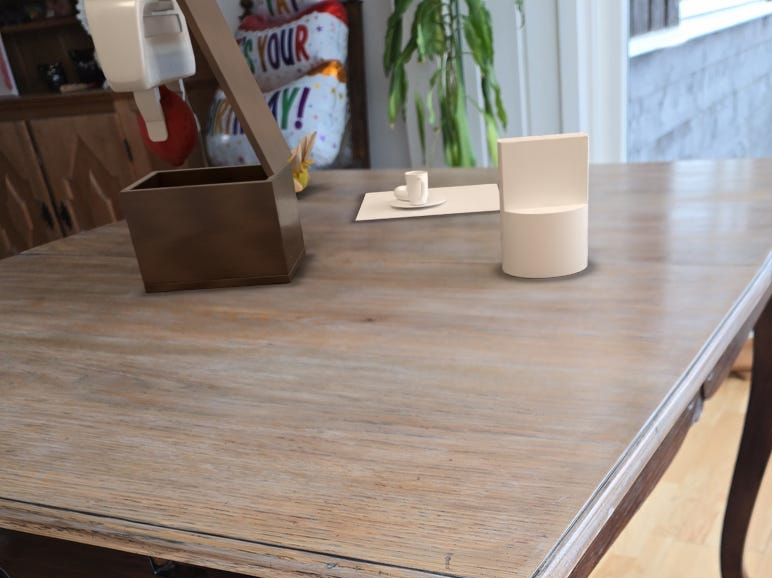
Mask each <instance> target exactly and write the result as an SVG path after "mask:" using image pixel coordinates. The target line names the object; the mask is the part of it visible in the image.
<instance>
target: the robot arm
mask: <svg viewBox="0 0 772 578" xmlns="http://www.w3.org/2000/svg"><path fill="white" fill-rule="evenodd" d="M83 9H84V14H85V18H86V21H87V25H88V28H89V32H90V35H91V38H92V42H93V45H94V48H95V52H96V54H97V58H98V61H99V64H100V67H101V71H102V72H103V75H104V77H105V79H106V81H107V83H108V85H109V86H110V88H111V89H112V91H113V92H115V93H133V98H134V101H135V104H136V106H137V108H138V111H139V112H141V114H142V117H143V119H144V121H145V122H146V126H147V130H148V134H149V138H150V139H151V140H152V141H154V142H155V141H165V140H167V139H168V138H170V135H171V134H170V130H169V125H168V121H167V119H165V118H164V114H163V111H162V108H161V104H160V101H159V100H160V94H159V89H158V86H161V85H164V84H165V85H166V87H167V88H168V89H169V90H171V91H173V92H174V93H176V94H177V95H179V96H180V97H181V98H182V99H183V100H184V101H185V102H186V97H185V96H186V95H185V94H186V93H185V87H184V81H183V79H185V78H188V77H191V76H192V77H193V76H194V75H195V74H196V60H195V59H196V58H195V54H194V49H193V45H192V41H191V37H190V33H189V29H188V23H187V21H186V19H185V17H184V15H183V13H182V11H181V9H180V7H179V5H178V4H177V2H176V0H83Z"/></svg>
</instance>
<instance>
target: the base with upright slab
mask: <svg viewBox="0 0 772 578" xmlns="http://www.w3.org/2000/svg"><path fill="white" fill-rule="evenodd" d="M496 149H497V152H496V154H497V171H498V172H497V174H498V176H497V177H498V189H499V200H500V210H499V219H500V220H499V221H500V223H499V224H500V242H501V243H500V244H501V267H502V268H501V269H502V270H501V271H503V272H504V273H505V274H507V275H509V276H513V277H518V278H525V279H526V278H527V279H546V278H547V279H549V278H558V277H559V278H560V277H565V276H569V275H574V274H576V273H579V272H581V271H584V270H585V269H586V268H587V267H588V261H589V260H588V259H589V258H588V257H589V256H588V253H589V252H588V251H589V250H588V249H589V248H588V247H589V244H588V243H589V234H588V233H589V163H590V162H589V160H590V156H589V155H590V151H589V150H590V135H589V133H588V132H584V131H580V132H578V131H577V132H567V133H566V132H565V133H554V134H543V135H542V134H541V135H529V136H528V135H527V136H517V137H503V138H497V139H496Z"/></svg>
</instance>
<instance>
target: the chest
mask: <svg viewBox="0 0 772 578" xmlns="http://www.w3.org/2000/svg"><path fill="white" fill-rule="evenodd" d="M118 195H119V200H120V202H121V207H122V210H123V213H124V217H125V221H126V225H127V229H128V233H129V235H130V240H131V243H132V247H133V251H134V254H135V258H136V262H137V265H138V269H139V272H140V276H141V280H142V284H143V288H144V292H145V293H160V292H175V291H188V290H189V291H191V290H204V289H218V288H234V287H245V286H246V287H247V286H260V285H261V286H263V285H275V284H290V283H291V282H292V280H293V278H294V276H295V275H296V273H297V271H298V270H299V267H300V265H301V264H302V262H303V260H304V259H305V257H306V255H307V251H306V245H305V240H304V234H303V228H302V223H301V221H302V220H301V216H300V209H299V204H298V197H297V193H296V191H295V185H294V179H293V173H292V167H291V162H286V163H285V164H284V165H283V166H282V167H281V168H280V169H279V170H278V171H277V172H276V173H275V174H274V175H272V176H270V177H267V175H266V173H265V171H264V169H263V167H262V165H261V164H260V163H252V164H239V165H223V166H209V167H197V168H183V169H181V168H180V169H171V170H170V169H169V170H167V169H166V170H154V171H151V172H150V173H148V174H146V175H145V176H143V177H141V178H140V179H138V180H136V181H134V183H132V184H130V185H128V186H127V187H125V188H124V189H122V190H120V191H119V192H118Z"/></svg>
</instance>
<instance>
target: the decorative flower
mask: <svg viewBox="0 0 772 578" xmlns="http://www.w3.org/2000/svg"><path fill="white" fill-rule="evenodd" d="M317 134H318V131H316V130H314V131H313V133H312V134H311V135H310V130H308V131H307V133H306V135H304V136H302V137H301V139H300V141H299V143H298V146H296V147H295V148H293V149H290V151H291V153H292V155H293V156H292V157H291V158H290V159H289V160H288V161H287V162H291V167H292V173H293V179H294V185H295V191H296V194H299V193H300V192H302V191H303V190H304V189H305V188H307V185H308V181H309V180H308V179H310V180H311V181H313V179H312V178H311V176H310V175H309V171H308V169H309V168H311V165H313V164H314V163H316V161H317V160H316V159H314V158H309V157H310V155H311V153H312V150H313V148H314V145H315V141H316V138H317Z"/></svg>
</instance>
